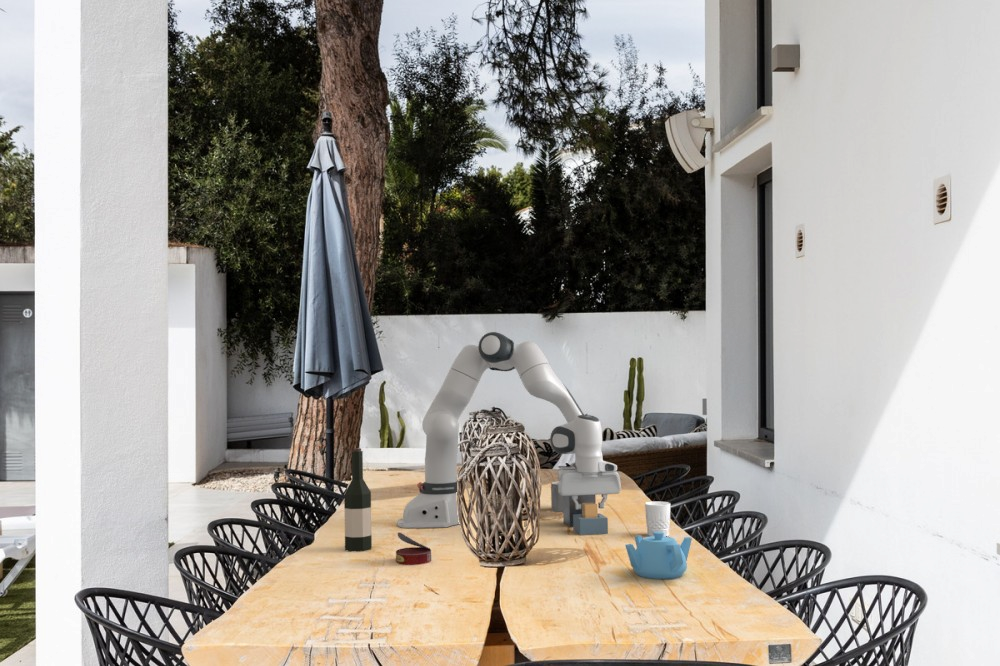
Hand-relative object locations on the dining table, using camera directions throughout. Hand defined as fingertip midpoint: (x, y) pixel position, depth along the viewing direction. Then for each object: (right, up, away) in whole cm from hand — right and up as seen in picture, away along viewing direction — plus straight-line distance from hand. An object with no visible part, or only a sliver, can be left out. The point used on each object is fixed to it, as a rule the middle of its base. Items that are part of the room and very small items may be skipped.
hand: (589, 508), depth 298 cm
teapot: (+12, -6, -59) cm, 61 cm away
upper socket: (-2, -8, +14) cm, 16 cm away
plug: (0, -5, 0) cm, 5 cm away
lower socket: (0, -7, 0) cm, 7 cm away
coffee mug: (-3, -9, +44) cm, 45 cm away
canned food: (-53, -8, -39) cm, 66 cm away
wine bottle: (-71, -8, -20) cm, 75 cm away
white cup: (+21, -7, -8) cm, 23 cm away
